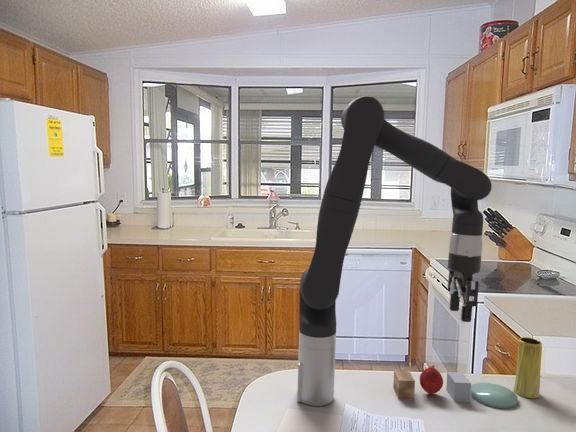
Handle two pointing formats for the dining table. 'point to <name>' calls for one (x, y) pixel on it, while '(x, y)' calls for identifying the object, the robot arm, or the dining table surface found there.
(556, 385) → the dining table surface
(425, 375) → the onion
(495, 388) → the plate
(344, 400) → the dining table surface
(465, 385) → the slate block
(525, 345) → the vase
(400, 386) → the walnut block
